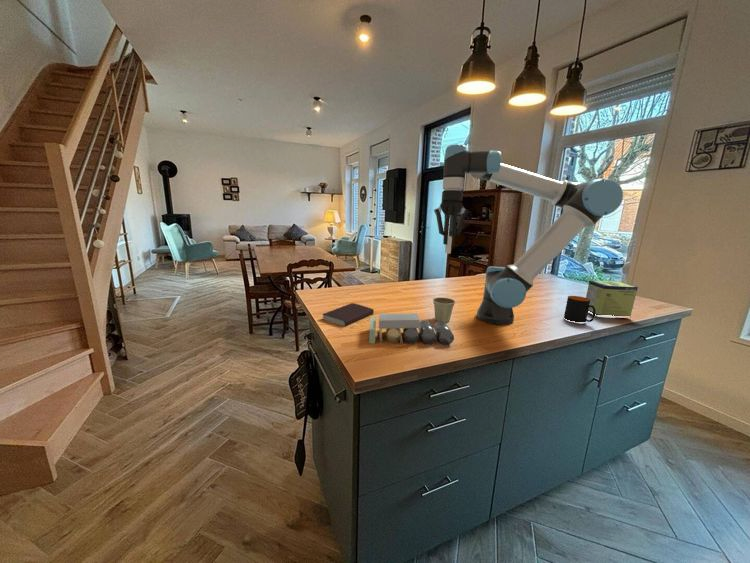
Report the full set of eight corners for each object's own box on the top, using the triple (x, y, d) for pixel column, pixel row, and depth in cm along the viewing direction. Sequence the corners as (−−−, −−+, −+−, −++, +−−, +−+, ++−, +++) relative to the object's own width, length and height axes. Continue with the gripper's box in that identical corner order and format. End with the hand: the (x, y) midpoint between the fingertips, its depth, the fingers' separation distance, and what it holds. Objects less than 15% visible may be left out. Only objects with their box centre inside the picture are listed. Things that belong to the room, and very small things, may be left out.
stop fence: (375, 329, 115) (375, 317, 113) (375, 343, 103) (375, 329, 102) (369, 329, 115) (370, 317, 113) (369, 343, 103) (369, 329, 102)
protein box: (630, 319, 139) (638, 286, 136) (596, 317, 139) (604, 285, 136) (613, 312, 150) (620, 281, 146) (582, 310, 150) (588, 280, 146)
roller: (398, 331, 114) (385, 331, 114) (398, 319, 113) (385, 319, 113) (400, 343, 104) (386, 343, 104) (400, 330, 103) (386, 330, 103)
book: (373, 315, 132) (374, 308, 131) (345, 328, 116) (345, 320, 115) (351, 309, 138) (351, 302, 138) (321, 320, 123) (321, 313, 122)
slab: (416, 320, 111) (416, 313, 110) (419, 328, 104) (419, 319, 104) (378, 321, 111) (378, 313, 110) (378, 328, 104) (378, 320, 104)
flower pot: (426, 319, 128) (428, 299, 126) (438, 314, 135) (440, 296, 133) (446, 325, 122) (448, 305, 120) (457, 320, 129) (459, 300, 127)
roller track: (446, 333, 114) (447, 320, 113) (453, 345, 103) (455, 332, 102) (379, 330, 114) (379, 318, 113) (379, 342, 103) (380, 329, 102)
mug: (585, 328, 126) (590, 304, 123) (559, 318, 137) (563, 296, 134) (598, 326, 129) (603, 302, 126) (572, 316, 140) (576, 295, 137)
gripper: (466, 191, 117) (460, 252, 122) (432, 190, 116) (429, 251, 121) (473, 190, 109) (467, 254, 115) (438, 189, 109) (433, 254, 114)
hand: (447, 253), depth 118 cm, fingers closed
